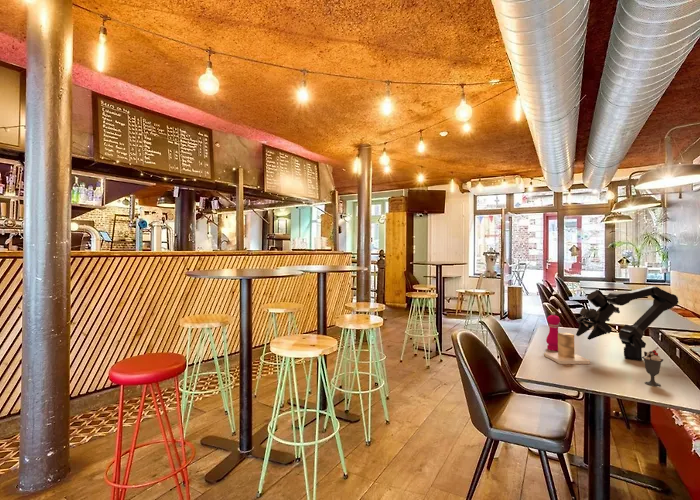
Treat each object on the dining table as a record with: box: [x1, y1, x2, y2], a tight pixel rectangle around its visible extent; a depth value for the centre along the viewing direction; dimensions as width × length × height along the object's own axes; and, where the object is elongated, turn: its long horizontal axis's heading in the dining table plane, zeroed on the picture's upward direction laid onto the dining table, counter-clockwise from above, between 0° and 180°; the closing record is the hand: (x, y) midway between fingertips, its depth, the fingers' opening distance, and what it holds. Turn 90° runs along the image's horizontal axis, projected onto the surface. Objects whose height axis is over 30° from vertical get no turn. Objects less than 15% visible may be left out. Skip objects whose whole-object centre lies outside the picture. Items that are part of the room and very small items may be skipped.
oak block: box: [557, 332, 576, 358], centre depth 179 cm, size 5×5×11 cm
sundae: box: [642, 346, 664, 387], centre depth 145 cm, size 7×7×15 cm
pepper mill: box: [545, 311, 561, 352], centre depth 198 cm, size 7×7×20 cm
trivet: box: [543, 352, 591, 365], centre depth 179 cm, size 14×14×2 cm
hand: (582, 337), depth 180 cm, fingers open, 9 cm apart
